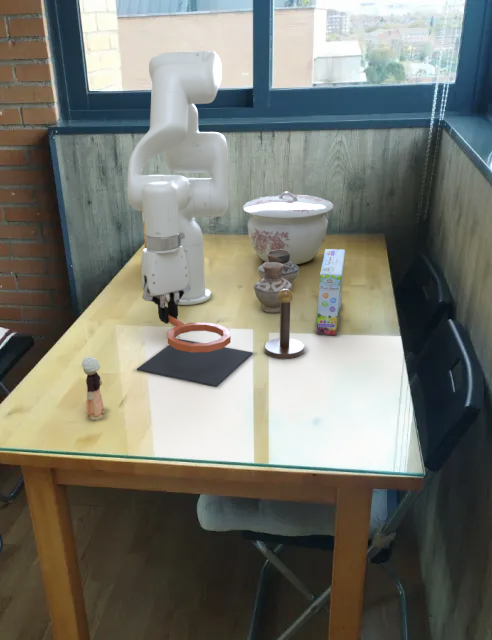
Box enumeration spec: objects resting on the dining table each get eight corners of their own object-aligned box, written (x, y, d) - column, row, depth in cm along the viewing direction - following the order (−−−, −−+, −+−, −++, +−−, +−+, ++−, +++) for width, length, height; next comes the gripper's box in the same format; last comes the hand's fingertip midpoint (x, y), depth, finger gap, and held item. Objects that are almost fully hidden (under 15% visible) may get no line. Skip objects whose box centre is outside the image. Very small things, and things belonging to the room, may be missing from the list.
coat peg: (258, 355, 158) (258, 293, 151) (274, 340, 165) (274, 280, 157) (295, 361, 154) (297, 298, 147) (309, 346, 161) (312, 285, 153)
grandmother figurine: (88, 407, 140) (80, 350, 133) (107, 405, 140) (100, 348, 134) (85, 426, 133) (76, 367, 127) (105, 425, 134) (97, 365, 127)
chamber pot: (330, 273, 204) (334, 202, 194) (238, 272, 209) (236, 202, 198) (331, 246, 228) (334, 181, 217) (248, 245, 232) (248, 181, 222)
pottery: (249, 315, 179) (249, 270, 173) (260, 283, 200) (260, 242, 194) (293, 316, 177) (294, 271, 171) (299, 284, 198) (301, 242, 192)
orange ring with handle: (242, 343, 149) (242, 336, 148) (187, 357, 143) (187, 350, 142) (186, 312, 166) (186, 305, 166) (136, 323, 160) (135, 316, 159)
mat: (136, 370, 154) (136, 368, 154) (177, 340, 167) (177, 338, 167) (216, 387, 145) (216, 385, 145) (252, 353, 159) (252, 352, 159)
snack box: (338, 336, 165) (342, 275, 158) (315, 335, 166) (317, 274, 159) (342, 304, 183) (345, 247, 175) (320, 303, 184) (323, 247, 176)
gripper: (185, 232, 158) (189, 308, 167) (123, 244, 151) (131, 323, 160) (202, 239, 152) (205, 317, 161) (138, 252, 145) (146, 333, 155)
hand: (168, 320), depth 161 cm, fingers closed on orange ring with handle, 1 cm apart
